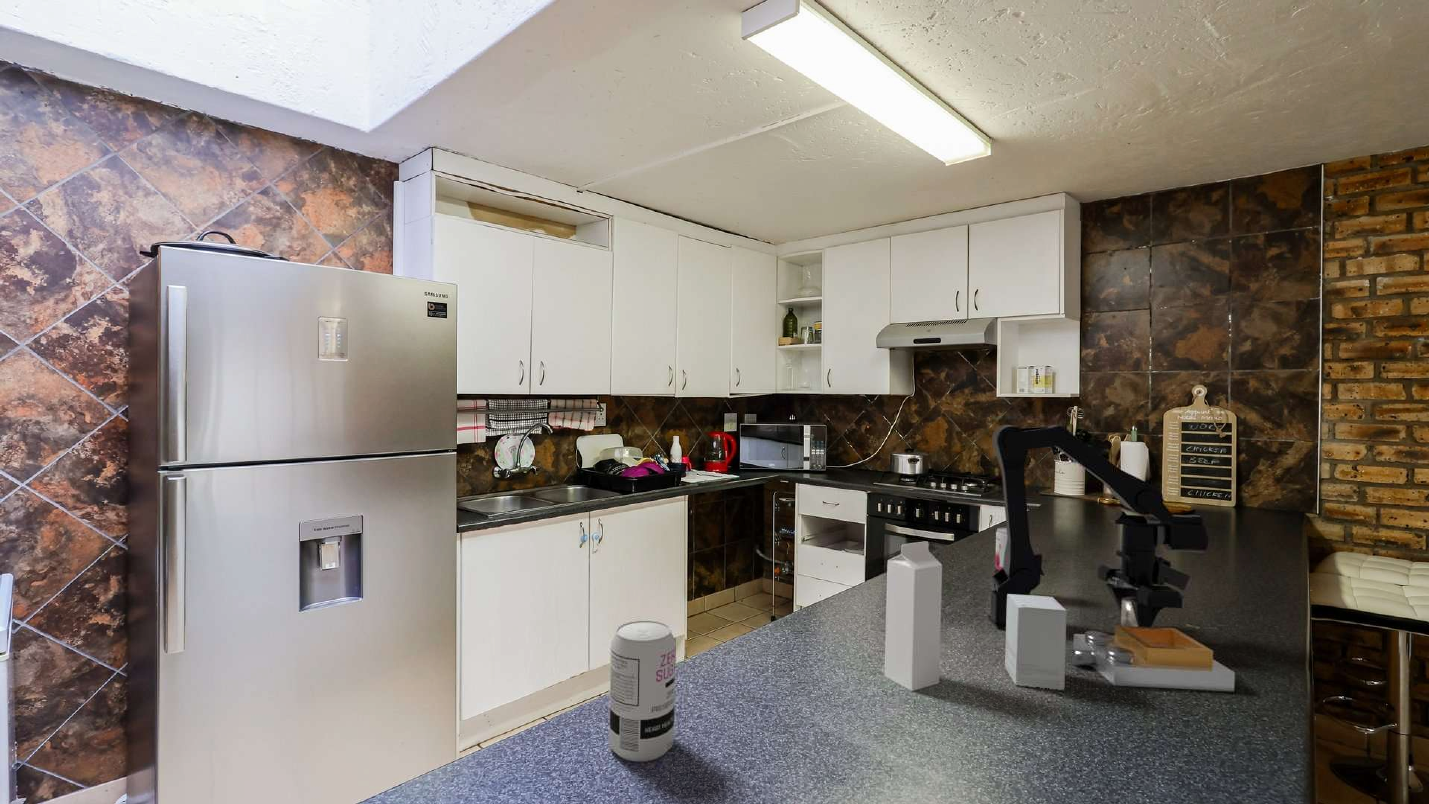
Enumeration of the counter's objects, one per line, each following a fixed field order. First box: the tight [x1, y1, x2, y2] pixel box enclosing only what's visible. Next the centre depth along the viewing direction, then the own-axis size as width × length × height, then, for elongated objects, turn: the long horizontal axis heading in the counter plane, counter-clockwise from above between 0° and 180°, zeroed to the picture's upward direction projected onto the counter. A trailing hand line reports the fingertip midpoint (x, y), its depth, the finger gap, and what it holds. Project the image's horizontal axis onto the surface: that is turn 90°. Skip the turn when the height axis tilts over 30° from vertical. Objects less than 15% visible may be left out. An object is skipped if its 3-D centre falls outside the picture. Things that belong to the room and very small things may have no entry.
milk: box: [884, 541, 943, 692], centre depth 105 cm, size 6×6×22 cm
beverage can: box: [993, 527, 1007, 591], centre depth 150 cm, size 6×7×15 cm
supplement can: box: [608, 620, 677, 762], centre depth 85 cm, size 8×8×15 cm
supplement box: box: [1004, 594, 1068, 691], centre depth 107 cm, size 7×7×13 cm
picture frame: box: [1070, 625, 1236, 692], centre depth 112 cm, size 21×14×6 cm, turn 86°
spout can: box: [1120, 596, 1165, 627], centre depth 126 cm, size 7×5×8 cm
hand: (1136, 629), depth 126 cm, fingers closed on spout can, 5 cm apart
